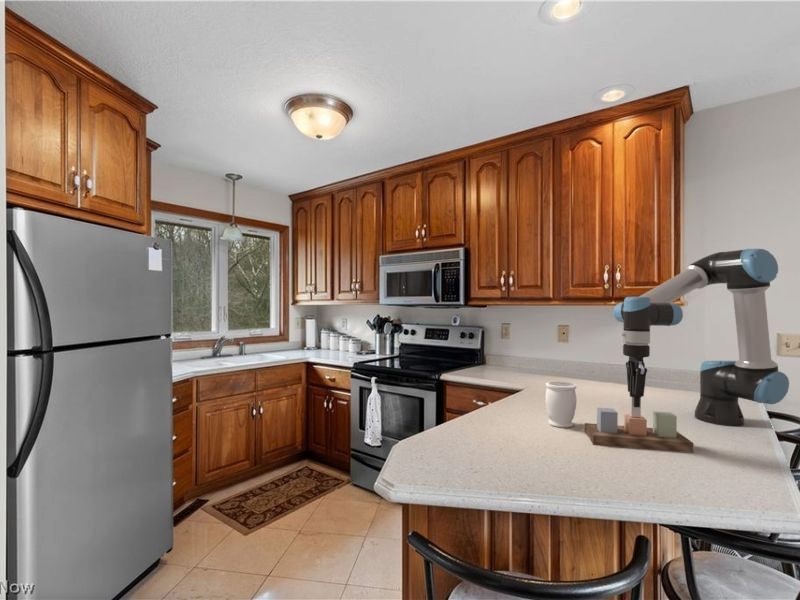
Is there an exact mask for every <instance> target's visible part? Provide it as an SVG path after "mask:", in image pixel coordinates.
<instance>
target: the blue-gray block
mask: <svg viewBox="0 0 800 600" xmlns="http://www.w3.org/2000/svg"><path fill="white" fill-rule="evenodd" d="M596 408H597V409H596V424H597V430H598V431H599V432H603V433H616V434H617V425H618V419H619V417H618V416H619V415H618V413H619V412H618V411H617V410H616V409H615V408H611V407H610V408H609V407H596Z"/></svg>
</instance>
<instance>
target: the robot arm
mask: <svg viewBox="0 0 800 600" xmlns="http://www.w3.org/2000/svg"><path fill="white" fill-rule="evenodd" d="M778 273H779V264H778V262H777V258H776V257H775V256H774V255H773V254H772V253H771V252H770V251H769V250H766V249H763V248H747V249H739V250H729V251H720V252H715V253H712V254H710V255H706V256H705V257H702V258H700V259H697V260H696V261H694V262H693V263H691V264H690V263H689V264H688V265H687V266H686V267H684V268H683V270H682V272H680V273H678V274H676V275H675V276H673V277H671V278H669V279H668V280H666V281H664V282H663V283H661V284H659V285H657V286H656V287H654V288H652V289H650V290H647V291H646V292H645V293H643V294H641V295H640V296H626V297H625V298H624V300H623V302H619V303H617V304H616V305H615V306H614V308H613V316H614V318H615V320H616V321H617V322H620V323H623V333H621V336H622V337H623V343H624V344H623V345H622V353H623V355H624V356H626V357H628V361H626V362H625V368H626V380H627V392H629V415H630V416H631V417H641V416H642V415H641V413H642V412H641V411H642V410H641V408H642V397H644V395H645V389H646V387H645V386H646V378H647V376H646V375H647V372H648V368H646V367H645V365H646V364H645V361H644V358H648V357H650V355H651V354H650V351H651V347H650V345H649V344H650V343H651V327H652V326H665V327H670V326H677V325H679V324H680V323H681V322H682V320H683V317H684V313H683V309H682V307H681V306H680V305H679V304H677V303H674V302H675V301H677V300H678V299H680V298H682V297H684V296H685V295H687V294H689V293H691V292H692V291H694V290H696V289H697V290H699V289H700V290H701V289H703V288H706V287H707V286H710V285H715V284H716V285H717V284H718V285H719V284H726V290H727V291H729V292H730V293H732V298H733V305H734V306H733V307H734V308H733V309H734V317H735V319H734V320H735V327H736V338H737V346H738V349H737V350H738V357H739V359H738V360H704V361H702V363H701V365H700V369H699V370H700V371H699V373H700V377H699V379H700V381H699V383H700V384H699V385H700V386H699V387H700V389H699V390H700V392H699V393H700V395H699V397H700V398H699V400H698V403H697V405H696V407H695V408H694V417H695V418H696V419H697V420H700V421H703V422H706V423H711V424H715V425H716V424H717V425H721V426H733V427H734V426H735V427H736V426H743V425H744V424H745V418H744V415H743V412H742V410H741V406H740V404H739V399H743V400H748V401H752V402H756V403H757V404H758V403H759V404H766V405H775V404H777V403H780V402H781V401H782V400H784V399H785V397H786V396H787V394H788V393H789V388H790V380H789V377H788V376H787V374H786V373H784V372H782V371H779V365H778V363H777V362H775V361H773V359H772V353H771V343H770V342H771V341H770V332H769V323H768V322H769V321H768V311H767V302H766V300H767V299H766V291H767V290H768V289H769V288H770V287H771V282H773V281H775V279H776V278H777V277H778V276H777V275H778Z"/></svg>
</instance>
